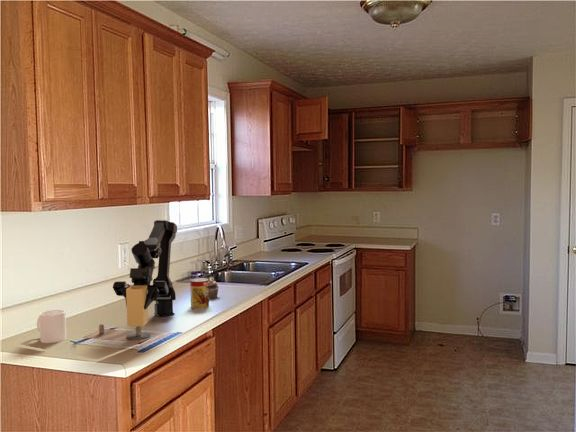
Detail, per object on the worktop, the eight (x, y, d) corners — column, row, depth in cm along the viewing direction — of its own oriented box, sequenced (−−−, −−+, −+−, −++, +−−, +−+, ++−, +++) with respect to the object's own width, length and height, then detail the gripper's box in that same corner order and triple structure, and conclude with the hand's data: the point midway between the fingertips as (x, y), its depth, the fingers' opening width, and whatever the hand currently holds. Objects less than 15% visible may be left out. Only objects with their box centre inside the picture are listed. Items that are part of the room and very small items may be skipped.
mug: (28, 342, 177) (26, 313, 177) (48, 335, 185) (47, 307, 184) (51, 346, 172) (49, 316, 171) (71, 339, 179) (70, 311, 178)
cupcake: (199, 300, 238) (198, 279, 237) (198, 295, 248) (197, 275, 247) (219, 298, 240) (219, 277, 240) (217, 294, 250) (217, 274, 249)
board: (82, 339, 179) (81, 327, 179) (101, 331, 189) (101, 319, 189) (140, 344, 173) (140, 331, 172) (157, 334, 183) (156, 322, 183)
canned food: (210, 307, 223) (209, 280, 222) (192, 309, 221) (191, 281, 220) (207, 303, 230) (206, 277, 230) (189, 305, 228) (189, 278, 227)
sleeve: (132, 321, 182) (131, 285, 180) (148, 321, 181) (147, 285, 180) (127, 326, 176) (126, 289, 175) (143, 326, 176) (142, 289, 175)
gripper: (113, 259, 182) (102, 296, 171) (165, 258, 181) (157, 295, 171) (122, 277, 190) (112, 313, 180) (171, 276, 189) (164, 313, 179)
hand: (136, 308), depth 177 cm, fingers closed on sleeve, 6 cm apart
